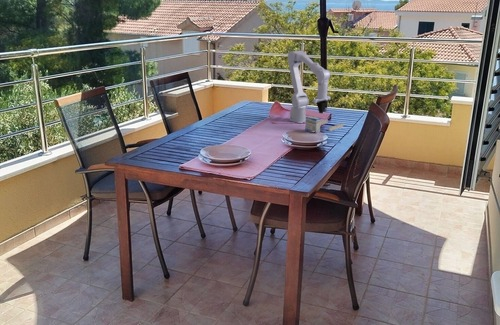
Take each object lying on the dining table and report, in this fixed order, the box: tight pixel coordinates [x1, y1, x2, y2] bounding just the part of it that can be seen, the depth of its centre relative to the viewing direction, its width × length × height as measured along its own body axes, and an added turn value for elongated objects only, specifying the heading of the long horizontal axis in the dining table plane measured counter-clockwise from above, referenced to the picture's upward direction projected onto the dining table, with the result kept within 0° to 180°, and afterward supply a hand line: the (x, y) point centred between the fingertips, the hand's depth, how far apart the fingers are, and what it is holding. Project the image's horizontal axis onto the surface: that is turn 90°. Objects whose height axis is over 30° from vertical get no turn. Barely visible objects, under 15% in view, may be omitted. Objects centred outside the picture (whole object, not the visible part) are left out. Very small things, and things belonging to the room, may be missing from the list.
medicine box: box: [304, 115, 322, 133], centre depth 291 cm, size 8×4×9 cm, turn 49°
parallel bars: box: [320, 119, 344, 132], centre depth 302 cm, size 13×14×2 cm
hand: (320, 113), depth 296 cm, fingers closed
